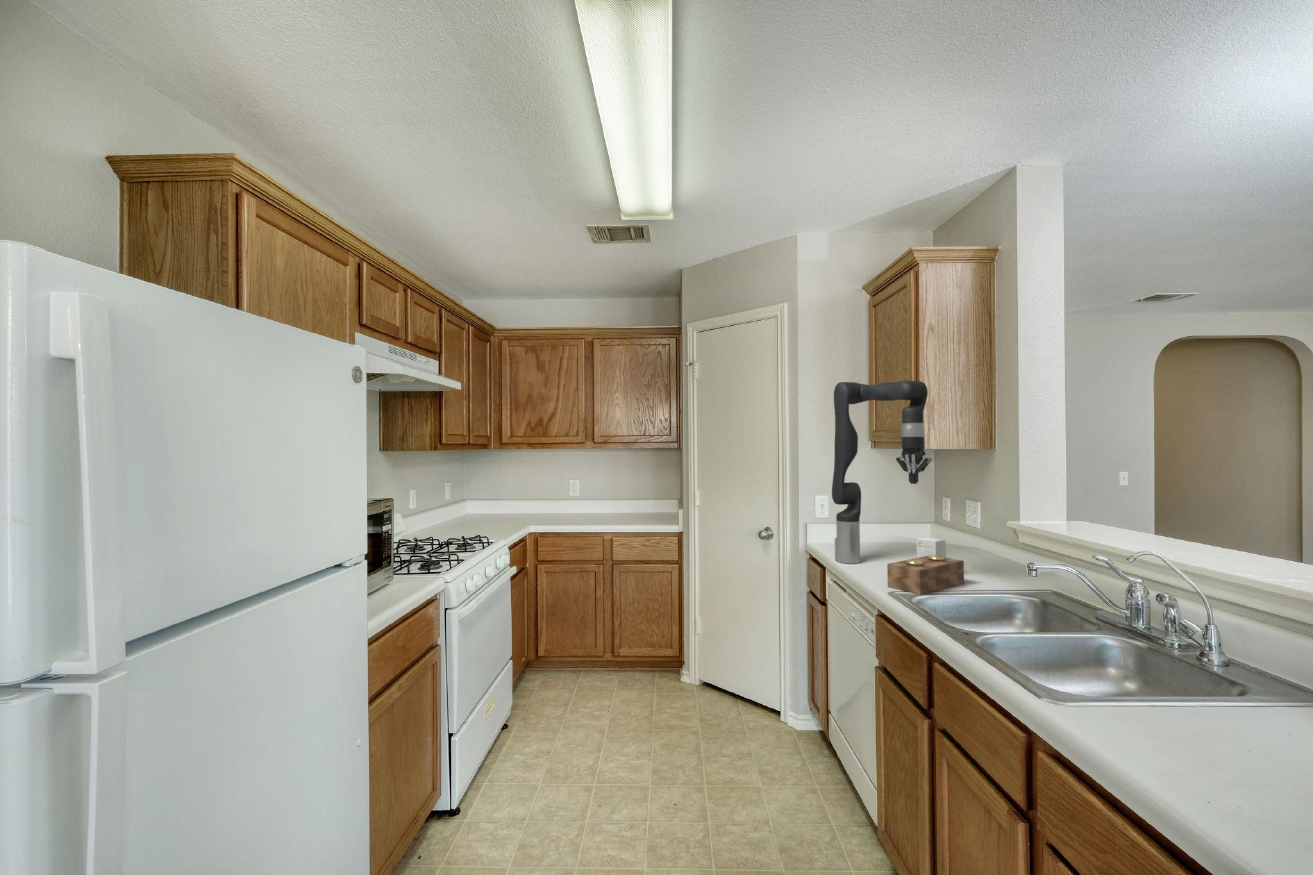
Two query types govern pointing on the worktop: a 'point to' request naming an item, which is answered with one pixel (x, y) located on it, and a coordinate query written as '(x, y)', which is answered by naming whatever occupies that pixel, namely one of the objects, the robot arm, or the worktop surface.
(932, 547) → the small box
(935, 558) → the plunger
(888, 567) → the socket block
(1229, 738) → the worktop surface
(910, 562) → the plunger
